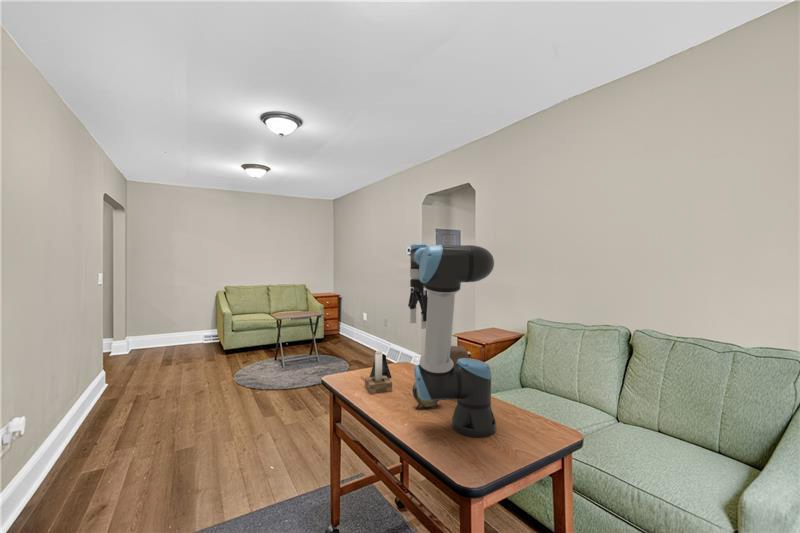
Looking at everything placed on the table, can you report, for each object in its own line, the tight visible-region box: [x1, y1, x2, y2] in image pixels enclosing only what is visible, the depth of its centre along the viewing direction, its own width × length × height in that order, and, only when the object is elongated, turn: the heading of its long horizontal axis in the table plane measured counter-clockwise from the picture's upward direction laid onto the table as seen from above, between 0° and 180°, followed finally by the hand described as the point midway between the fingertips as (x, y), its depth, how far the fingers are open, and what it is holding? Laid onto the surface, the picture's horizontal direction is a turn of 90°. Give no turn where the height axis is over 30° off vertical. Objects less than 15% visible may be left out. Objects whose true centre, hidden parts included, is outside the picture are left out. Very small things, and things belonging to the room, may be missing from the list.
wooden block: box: [450, 345, 469, 364], centre depth 157 cm, size 10×10×20 cm
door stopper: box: [369, 353, 392, 379], centre depth 178 cm, size 9×6×12 cm, turn 124°
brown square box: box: [364, 375, 393, 395], centre depth 163 cm, size 10×10×4 cm
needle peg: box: [374, 349, 383, 382], centre depth 163 cm, size 3×3×18 cm
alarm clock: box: [412, 382, 440, 410], centre depth 143 cm, size 11×5×16 cm, turn 102°
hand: (418, 325), depth 162 cm, fingers open, 13 cm apart
